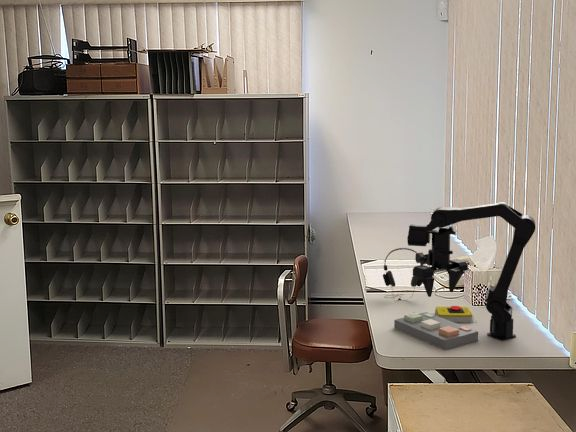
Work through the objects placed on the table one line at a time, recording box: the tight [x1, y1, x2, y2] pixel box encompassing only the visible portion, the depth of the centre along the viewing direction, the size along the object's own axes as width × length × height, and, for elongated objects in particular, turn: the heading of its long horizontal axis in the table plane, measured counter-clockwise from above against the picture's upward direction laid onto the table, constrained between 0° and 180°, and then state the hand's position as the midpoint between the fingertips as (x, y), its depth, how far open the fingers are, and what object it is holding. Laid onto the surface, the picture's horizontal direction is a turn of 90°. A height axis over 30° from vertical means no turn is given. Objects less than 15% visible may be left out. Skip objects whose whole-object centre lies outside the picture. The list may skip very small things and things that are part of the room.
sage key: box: [403, 312, 423, 323], centre depth 218 cm, size 4×4×2 cm
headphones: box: [382, 247, 423, 302], centre depth 249 cm, size 15×11×20 cm
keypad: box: [393, 311, 479, 351], centre depth 212 cm, size 23×14×3 cm, turn 32°
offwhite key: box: [421, 319, 440, 330], centre depth 211 cm, size 4×4×2 cm
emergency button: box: [430, 305, 478, 324], centre depth 228 cm, size 9×4×15 cm
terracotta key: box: [439, 326, 459, 337], centre depth 204 cm, size 4×4×2 cm
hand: (440, 294), depth 214 cm, fingers open, 9 cm apart
